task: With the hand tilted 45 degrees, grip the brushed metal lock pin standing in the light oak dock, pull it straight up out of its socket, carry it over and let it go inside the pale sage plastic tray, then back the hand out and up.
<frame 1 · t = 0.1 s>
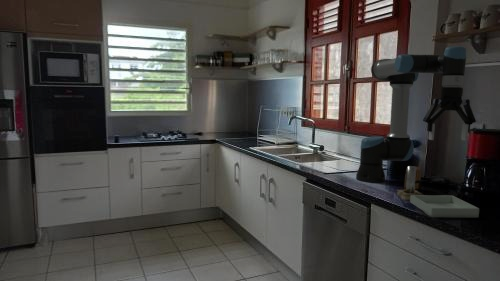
hand: (447, 140, 147), 28 cm above the counter, tool pointing down, fingers open, 13 cm apart
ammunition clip: (412, 191, 175), on the counter
lock pin: (409, 197, 162), resting on pin dock
pin dock: (409, 198, 162), on the counter
tray: (442, 209, 147), on the counter
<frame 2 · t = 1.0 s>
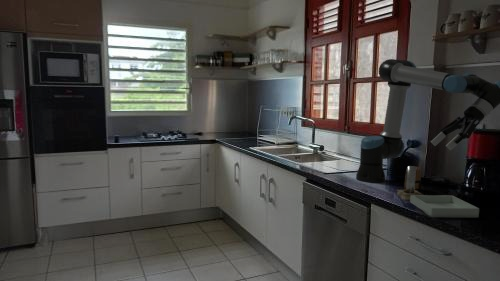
hand: (440, 145, 159), 24 cm above the counter, tool tilted 45°, fingers open, 13 cm apart
nothing on the counter moved.
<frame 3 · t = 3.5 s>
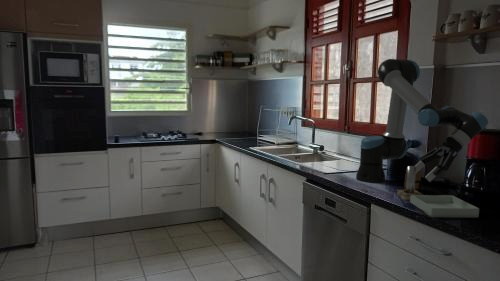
hand: (419, 176, 160), 11 cm above the counter, tool tilted 45°, fingers open, 13 cm apart
nothing on the counter moved.
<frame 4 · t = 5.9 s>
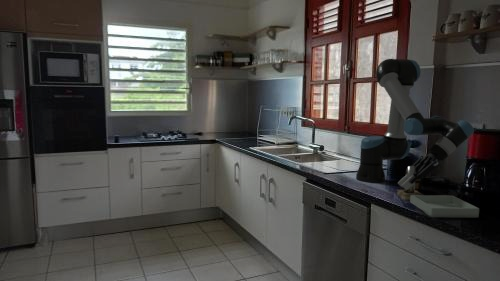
hand: (401, 186, 162), 6 cm above the counter, tool tilted 45°, fingers closed on lock pin, 3 cm apart
lock pin: (409, 197, 162), point 1 cm above the counter, touching gripper
everything else where it was.
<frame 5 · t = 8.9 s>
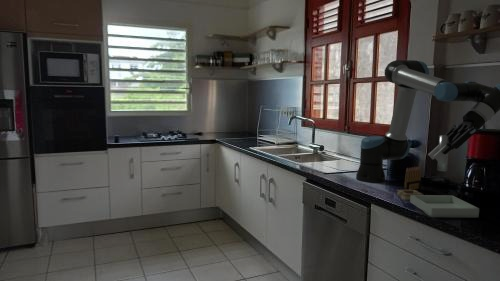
hand: (433, 157, 145), 21 cm above the counter, tool tilted 45°, fingers closed on lock pin, 3 cm apart
lock pin: (441, 170, 146), point 16 cm above the counter, touching gripper
everything else where it was.
when the fingers open (7 cm above the counter, at t = 12.4 s): lock pin drops 1 cm, resting on tray.
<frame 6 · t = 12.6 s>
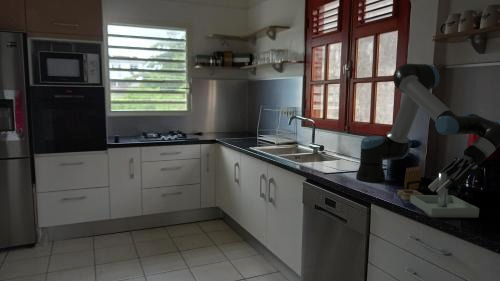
hand: (434, 191, 146), 8 cm above the counter, tool tilted 45°, fingers open, 6 cm apart
lock pin: (442, 207, 147), point 1 cm above the counter, touching tray
everything else where it was.
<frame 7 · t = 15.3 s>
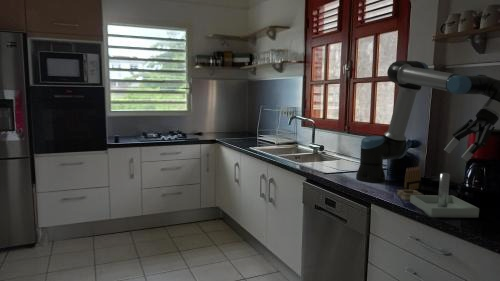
hand: (454, 155, 149), 21 cm above the counter, tool tilted 35°, fingers open, 13 cm apart
nothing on the counter moved.
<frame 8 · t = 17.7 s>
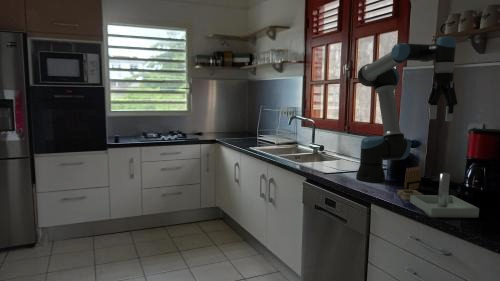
hand: (440, 120, 165), 35 cm above the counter, tool pointing down, fingers open, 13 cm apart
nothing on the counter moved.
at the end: lock pin inside the target area on the tray (0.1 cm from its centre), point 0.8 cm above the tray's base; the gripper is holding nothing; lock pin moved 17.0 cm from its start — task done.
